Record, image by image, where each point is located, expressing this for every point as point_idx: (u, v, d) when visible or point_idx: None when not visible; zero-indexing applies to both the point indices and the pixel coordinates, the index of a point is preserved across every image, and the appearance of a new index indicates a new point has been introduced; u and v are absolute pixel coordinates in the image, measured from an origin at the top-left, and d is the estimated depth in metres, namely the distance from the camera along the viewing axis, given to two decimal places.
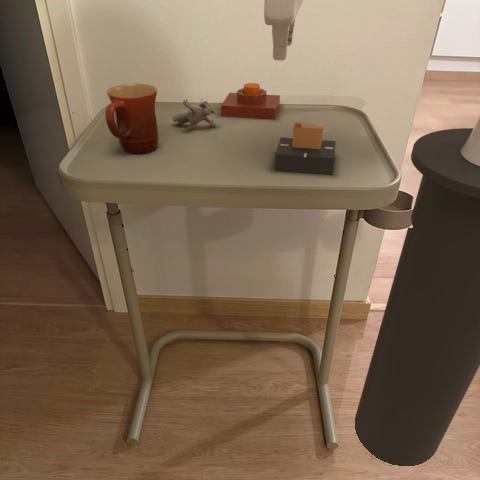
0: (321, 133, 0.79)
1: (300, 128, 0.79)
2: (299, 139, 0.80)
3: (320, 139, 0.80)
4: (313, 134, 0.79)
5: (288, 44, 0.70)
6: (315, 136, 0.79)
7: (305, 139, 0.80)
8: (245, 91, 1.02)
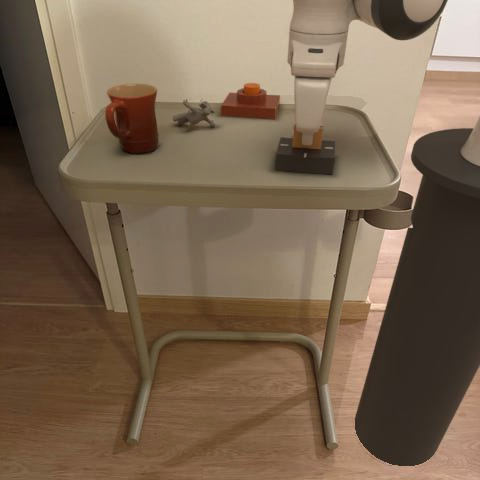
0: (321, 133, 0.79)
1: None
2: (299, 139, 0.80)
3: (320, 139, 0.80)
4: (313, 134, 0.79)
5: None
6: (315, 136, 0.79)
7: None
8: (245, 91, 1.02)
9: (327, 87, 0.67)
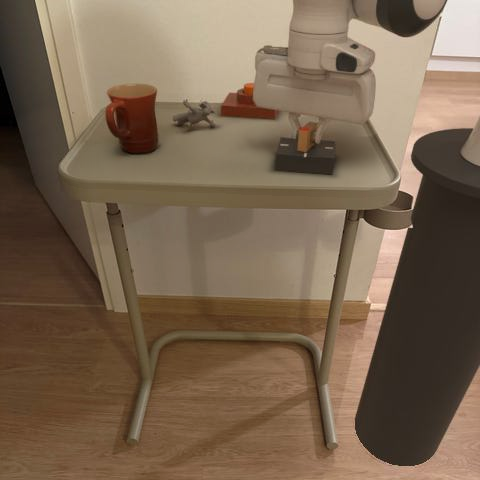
0: (317, 127, 0.81)
1: (310, 130, 0.78)
2: (309, 142, 0.80)
3: None
4: None
5: None
6: None
7: None
8: (245, 91, 1.02)
9: (373, 74, 0.72)
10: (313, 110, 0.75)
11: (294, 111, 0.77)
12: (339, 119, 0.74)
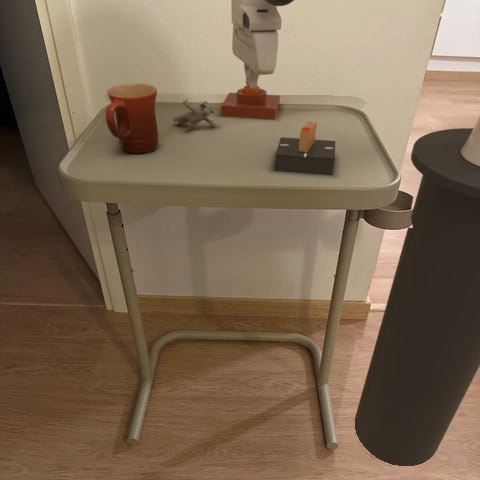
0: None
1: (311, 130, 0.78)
2: (310, 141, 0.80)
3: (315, 133, 0.82)
4: (313, 131, 0.80)
5: None
6: (314, 132, 0.81)
7: (311, 139, 0.80)
8: (245, 93, 1.03)
9: (277, 37, 0.90)
10: (245, 59, 0.98)
11: (241, 59, 1.01)
12: (252, 69, 0.95)
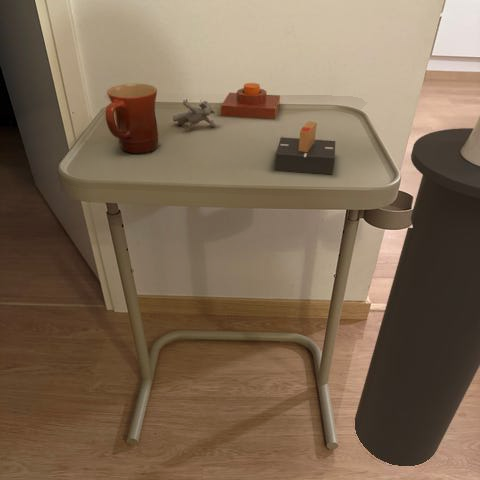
0: None
1: (311, 130, 0.78)
2: (310, 141, 0.80)
3: (315, 133, 0.82)
4: (313, 131, 0.80)
5: None
6: (314, 132, 0.81)
7: (311, 139, 0.80)
8: (245, 91, 1.02)
9: None
10: None
11: None
12: None
